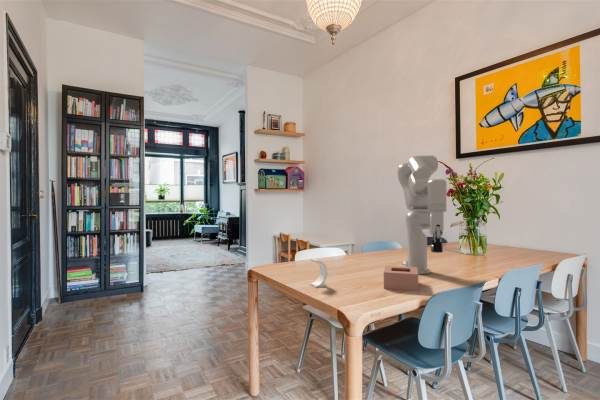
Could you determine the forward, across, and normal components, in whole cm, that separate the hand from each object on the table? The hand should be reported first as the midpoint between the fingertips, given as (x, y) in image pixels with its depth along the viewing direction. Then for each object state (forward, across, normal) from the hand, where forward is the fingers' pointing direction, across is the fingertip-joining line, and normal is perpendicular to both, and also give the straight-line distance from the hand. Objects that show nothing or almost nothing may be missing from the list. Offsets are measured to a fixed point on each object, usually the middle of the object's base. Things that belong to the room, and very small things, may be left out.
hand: (436, 249), depth 140 cm
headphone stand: (+17, +10, -50) cm, 54 cm away
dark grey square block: (+1, 0, 0) cm, 1 cm away
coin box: (+16, 0, -15) cm, 22 cm away
